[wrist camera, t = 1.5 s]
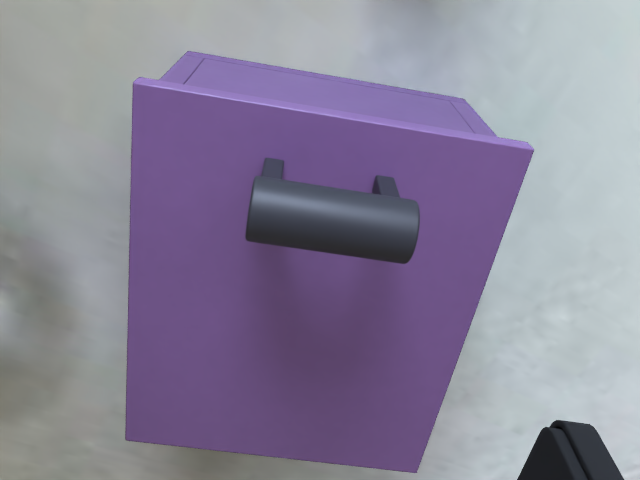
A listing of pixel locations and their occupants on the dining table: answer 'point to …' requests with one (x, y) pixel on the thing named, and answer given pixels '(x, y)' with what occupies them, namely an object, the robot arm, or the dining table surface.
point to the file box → (325, 92)
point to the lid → (303, 273)
